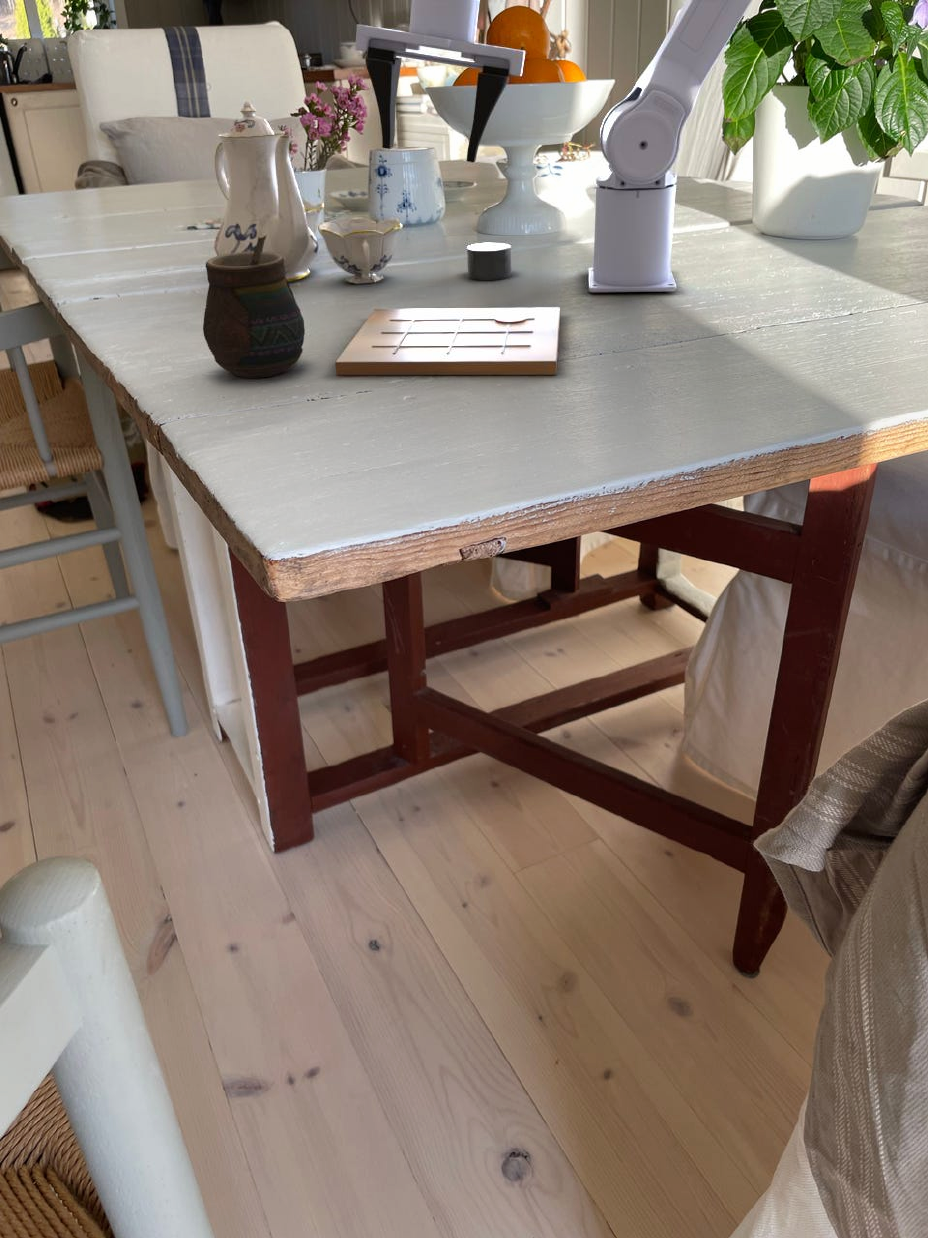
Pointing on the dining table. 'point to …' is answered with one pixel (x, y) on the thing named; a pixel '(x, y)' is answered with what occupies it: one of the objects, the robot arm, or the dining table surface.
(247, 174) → the chinaware
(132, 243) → the dining table surface
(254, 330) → the mate gourd
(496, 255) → the short grey cylinder
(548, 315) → the board
